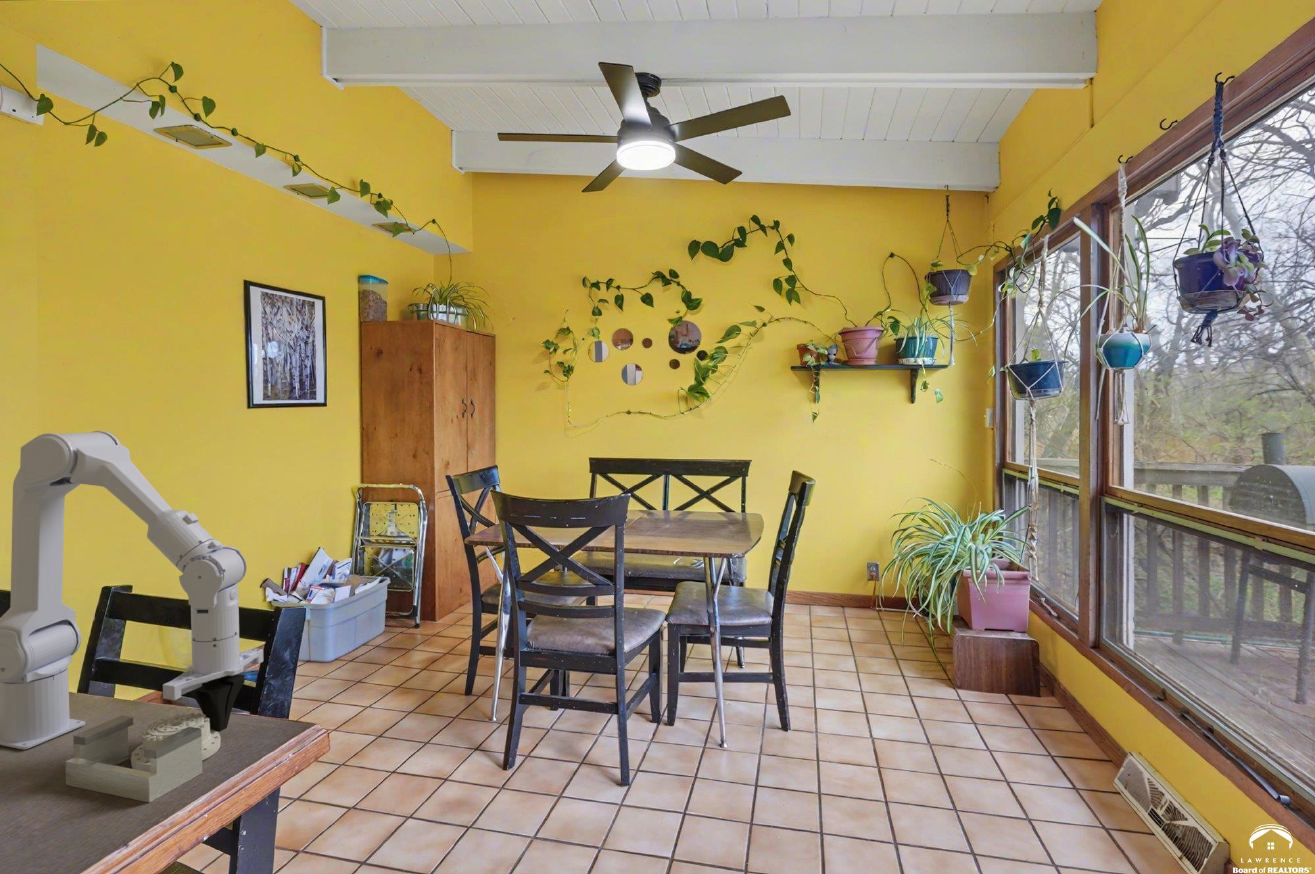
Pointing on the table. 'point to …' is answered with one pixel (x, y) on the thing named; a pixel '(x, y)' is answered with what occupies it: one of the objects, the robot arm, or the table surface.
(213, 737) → the mechanical component
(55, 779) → the table surface
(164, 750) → the bracket
